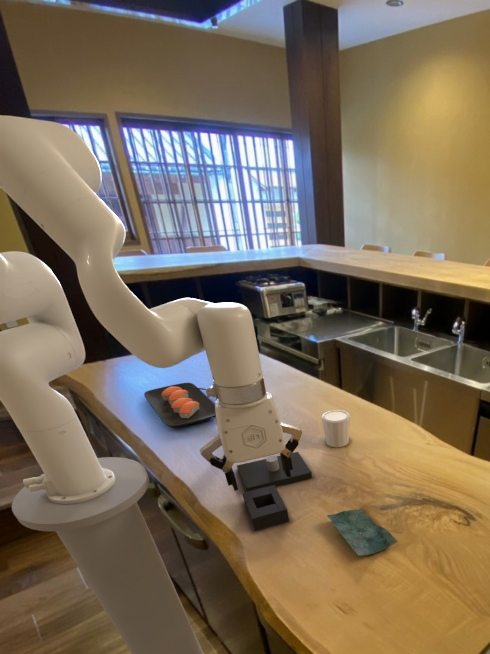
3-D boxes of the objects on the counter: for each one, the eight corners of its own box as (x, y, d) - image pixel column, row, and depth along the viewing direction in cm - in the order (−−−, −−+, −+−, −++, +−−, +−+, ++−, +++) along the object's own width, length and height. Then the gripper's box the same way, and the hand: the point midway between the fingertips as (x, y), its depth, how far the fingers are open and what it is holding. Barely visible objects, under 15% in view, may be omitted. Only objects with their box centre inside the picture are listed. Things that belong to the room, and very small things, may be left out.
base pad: (247, 494, 88) (243, 478, 85) (238, 470, 95) (234, 455, 92) (312, 478, 93) (310, 462, 90) (298, 457, 100) (296, 441, 97)
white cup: (332, 451, 102) (330, 424, 97) (318, 440, 106) (316, 414, 102) (356, 443, 105) (355, 417, 101) (342, 432, 109) (340, 407, 105)
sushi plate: (143, 397, 126) (138, 385, 124) (240, 376, 141) (237, 364, 138) (170, 434, 108) (165, 421, 106) (278, 405, 122) (276, 393, 120)
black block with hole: (255, 531, 78) (252, 518, 76) (245, 505, 85) (241, 492, 83) (289, 521, 81) (287, 509, 79) (277, 496, 87) (274, 484, 85)
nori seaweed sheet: (326, 522, 80) (325, 514, 79) (362, 510, 84) (362, 502, 83) (359, 563, 72) (359, 555, 71) (397, 548, 75) (398, 540, 74)
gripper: (186, 409, 62) (216, 503, 72) (300, 388, 68) (313, 478, 78) (181, 391, 67) (209, 482, 77) (287, 373, 73) (300, 459, 83)
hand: (261, 480), depth 78 cm, fingers open, 9 cm apart
